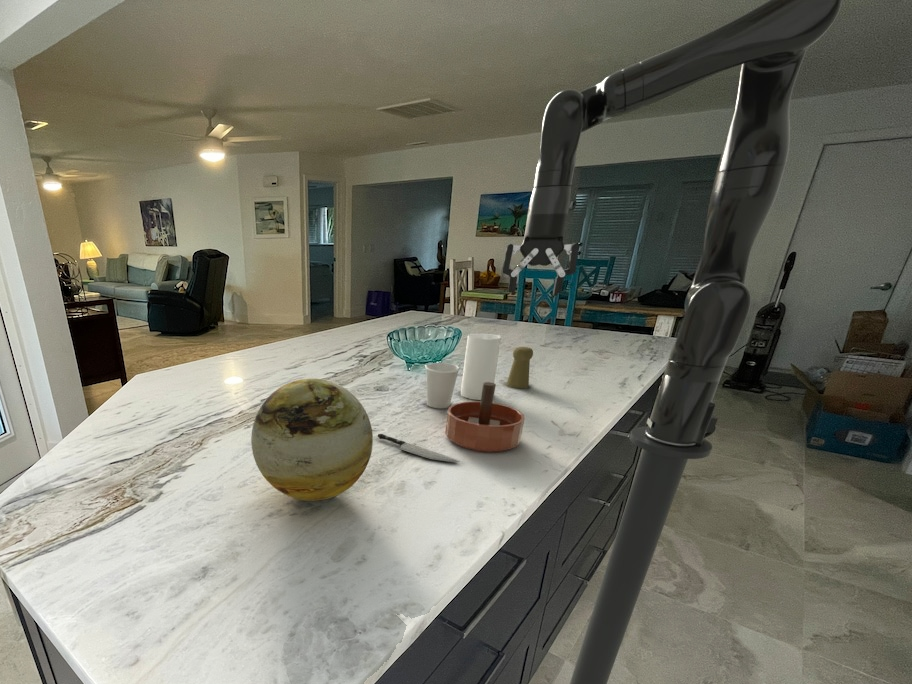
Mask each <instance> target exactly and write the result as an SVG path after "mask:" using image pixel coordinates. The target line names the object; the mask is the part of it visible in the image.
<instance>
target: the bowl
mask: <svg viewBox="0 0 912 684" xmlns="http://www.w3.org/2000/svg"><path fill="white" fill-rule="evenodd" d="M480 403H481V400H476V401H475V400H473V401H472V400H471V401H462V402H461V401H460V402H457V403H454V404H452V405H450V406H449V407H447V413H446V420H445V429H444V430H445V431H444V434H445V436H446V438H447V439H449V440H450V441H452V442H453V443H454V444H456V445H457V446H460V447H461V448H464V449H468V450H472V451H477V452H487V453H495V452H504V451H507V450H511V449H513V448H515V447H517V446H519V444H520V443H521V441H522V437H523V436H522V434H523V430H524V426H525V414H523V412H521V411H520V410H518V409H516V408H514V407H513V406H509V405H506V404H502V403H497V402H493V405H492V411H491V418H490V419H491V420H499V421H500V426H490V425H481V424H475V423H471V422H468V419H469V417H474V418H478V416H479V409H480Z"/></svg>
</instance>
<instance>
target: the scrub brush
mask: <svg viewBox="0 0 912 684" xmlns="http://www.w3.org/2000/svg"><path fill="white" fill-rule="evenodd" d="M495 391H496V383H495V382H494V383H491V382H485V383H483V389H482V396H481V400H480V401H481V403H480V409H479V416H478V418H474V417H469V419H468V422H471V423H475V424H481V425H490V426H500V421H499V420H491V419H490V418H491V411H492V405H493V403H494V397H495Z"/></svg>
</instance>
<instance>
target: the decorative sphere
mask: <svg viewBox="0 0 912 684" xmlns="http://www.w3.org/2000/svg"><path fill="white" fill-rule="evenodd" d="M252 423H253V424H252V429H251V436H250V437H251V438H250V439H251V440H250V441H251V443H250V445H251V450H252V451H251V453H252V456H253V459H254V461H255V464H256V466H257V469H258V470H259V472H260V474H261V475H262V476H263V478H264V479H265V480H266V481H267V482H268V484H270V485H271V487H273V488H274V489H276V490H277V491H278V492H280V493H282V494H283V495H285V496H287V497H289V498H293V499H297V500H299V501H307V502H309V501H310V502H312V501H313V502H315V501H324V500H328V499H331V498H335V497H337V496H338V495H341V494H343V493H344V492H346V491H347V490H349V489H350V488H351V487H352V486H354V484H355V483H356V482H358V480H359V479H360V478H361V477H362V475H363V474H364V472H365V471H366V468H367V466H368V464H369V462H370V459H371V456H372V451H373V445H374V441H373V439H374V438H373V429H372V424H371V420H370V418H369V415H368V413H367V411H366V410H365V407H364V406H363V404H362V403H361V401H360V400H359V399H358V398H357V397H356V396H355V395H354V394H353V393H352V392H351V391H350V390H348V389H347V388H345V387H344V386H342V385H340V384H338V383H335V382H333V381H332V380H328V379H322V378H303V379H298V380H293V381H290V382H289V383H286V384H284V385H282V386H280V387H279V388H277V389H276V390H275V391H273V392H272V393H271V394H270V395H269V396H268V397H267V398H265V400H264V401H263V403H262V405H261V406H260V408H259V409H258V411H257V413H256V414H255V418H254V421H253V422H252Z"/></svg>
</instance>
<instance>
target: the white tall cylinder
mask: <svg viewBox="0 0 912 684" xmlns="http://www.w3.org/2000/svg"><path fill="white" fill-rule="evenodd" d="M466 338H467V340H466V347H465V353H464V354H465V355H464V363H463V371H462V377H461V378H462V379H461V387H460V396H461V397H463V398H466V399H468V400H469V399H470V400H473V401H475V400H476V401H481V396H482V389H483V383H485V382H491V383H495V381H496V375H497V368H498V362H499V355H500V348H501V342H502V336H501V335H499V334H494V333H486V332H484V333H483V332H478V333H477V332H476V333H470V334H468V335H467V337H466Z"/></svg>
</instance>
